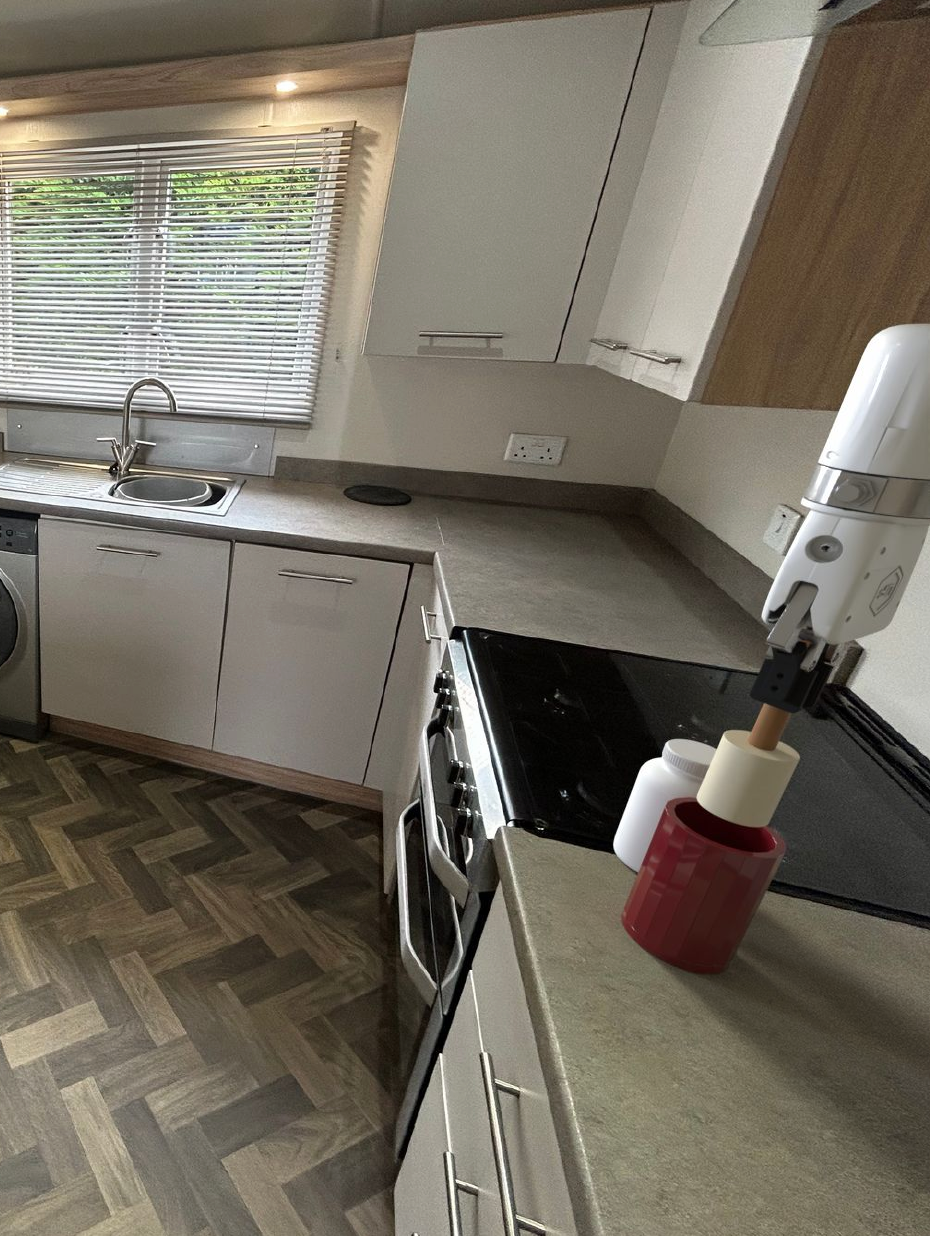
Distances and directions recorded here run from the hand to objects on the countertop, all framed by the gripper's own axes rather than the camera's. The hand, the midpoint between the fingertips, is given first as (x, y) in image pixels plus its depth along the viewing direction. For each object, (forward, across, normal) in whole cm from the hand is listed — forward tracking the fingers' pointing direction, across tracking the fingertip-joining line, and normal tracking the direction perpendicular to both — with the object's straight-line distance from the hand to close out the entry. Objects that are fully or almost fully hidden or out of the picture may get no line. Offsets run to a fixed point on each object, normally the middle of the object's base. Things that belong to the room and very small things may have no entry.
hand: (781, 700), depth 61 cm
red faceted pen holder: (+27, 0, 0) cm, 27 cm away
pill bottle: (+27, +10, +7) cm, 30 cm away
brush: (+12, 0, 0) cm, 12 cm away
